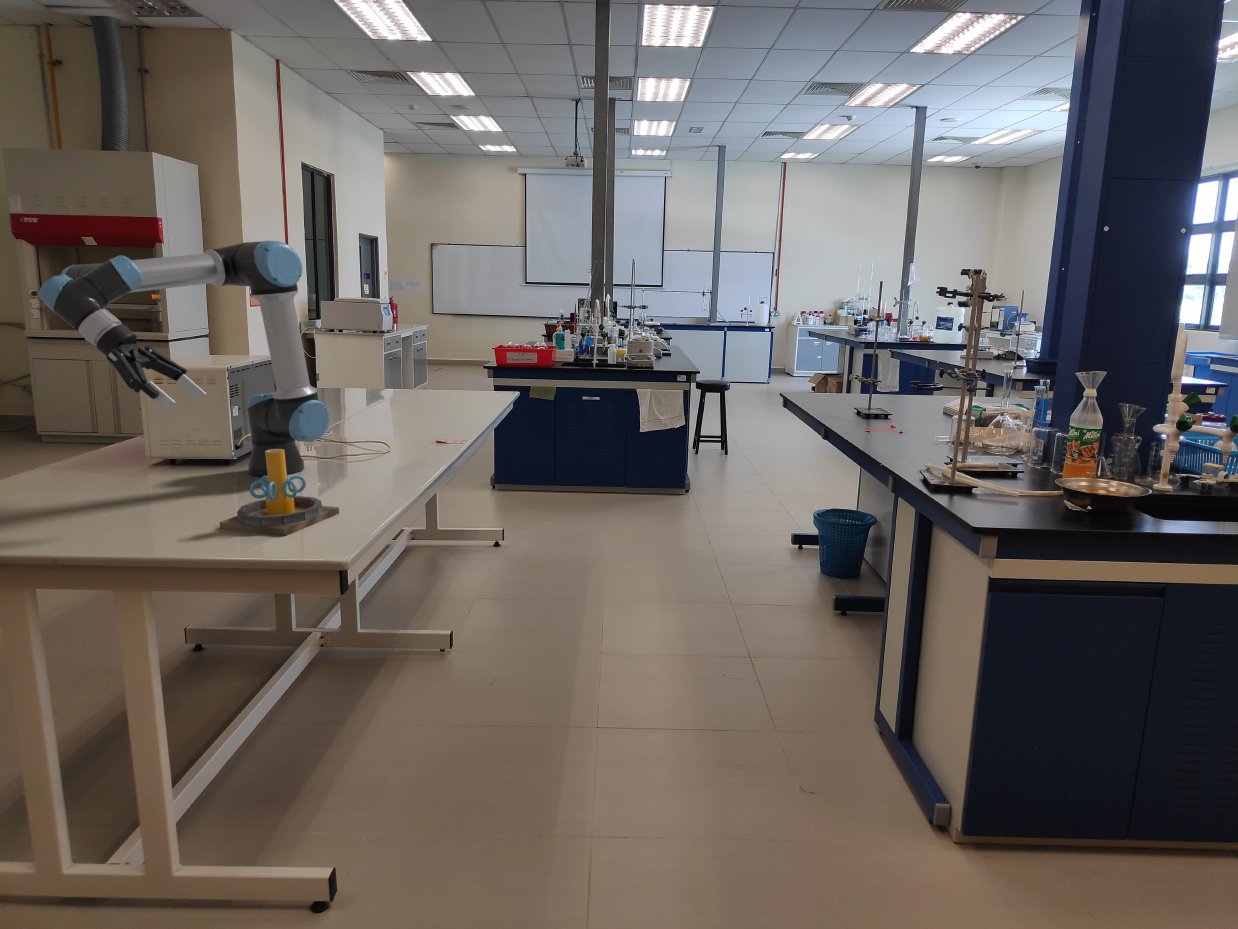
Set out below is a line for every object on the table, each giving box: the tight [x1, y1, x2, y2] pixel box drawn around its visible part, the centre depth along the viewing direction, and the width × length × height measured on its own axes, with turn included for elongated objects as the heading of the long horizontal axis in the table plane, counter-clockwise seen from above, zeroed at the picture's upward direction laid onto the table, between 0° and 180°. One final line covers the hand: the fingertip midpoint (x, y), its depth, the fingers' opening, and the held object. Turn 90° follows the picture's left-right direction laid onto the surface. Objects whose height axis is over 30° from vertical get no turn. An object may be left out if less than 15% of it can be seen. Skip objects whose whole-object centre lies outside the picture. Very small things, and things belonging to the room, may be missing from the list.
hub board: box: [219, 495, 340, 537], centre depth 181 cm, size 18×18×4 cm
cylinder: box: [249, 449, 307, 516], centre depth 180 cm, size 12×10×15 cm
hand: (187, 402), depth 176 cm, fingers open, 13 cm apart
